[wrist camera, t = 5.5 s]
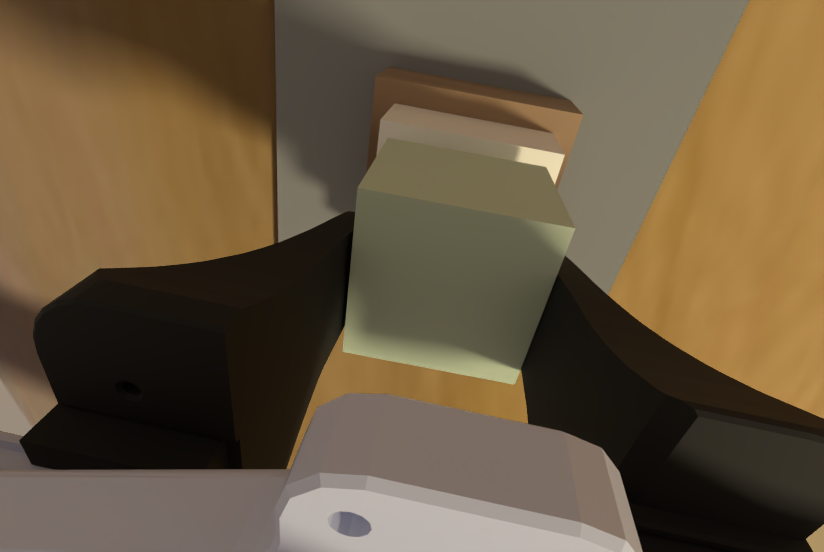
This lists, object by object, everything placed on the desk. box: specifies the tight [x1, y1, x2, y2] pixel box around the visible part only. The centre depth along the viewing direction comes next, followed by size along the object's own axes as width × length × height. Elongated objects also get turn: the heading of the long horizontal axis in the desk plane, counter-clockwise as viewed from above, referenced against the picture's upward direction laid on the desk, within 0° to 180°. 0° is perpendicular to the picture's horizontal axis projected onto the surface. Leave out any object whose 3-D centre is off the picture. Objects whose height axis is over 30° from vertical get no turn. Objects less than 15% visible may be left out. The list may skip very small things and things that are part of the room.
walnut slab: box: [366, 67, 583, 189], centre depth 18 cm, size 7×7×2 cm
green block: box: [343, 138, 575, 385], centre depth 12 cm, size 4×4×4 cm
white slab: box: [376, 103, 565, 184], centre depth 15 cm, size 6×6×2 cm
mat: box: [274, 0, 749, 295], centre depth 19 cm, size 16×16×1 cm
